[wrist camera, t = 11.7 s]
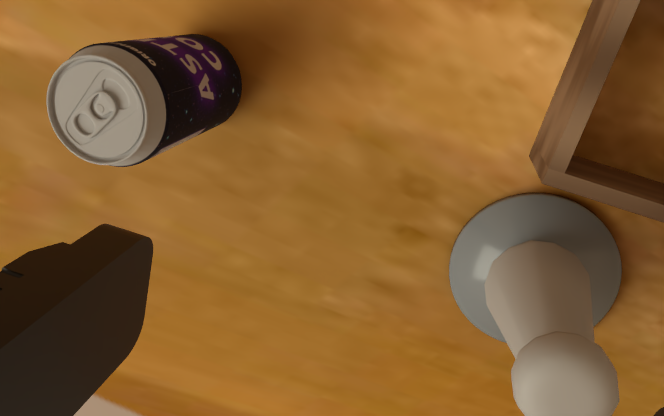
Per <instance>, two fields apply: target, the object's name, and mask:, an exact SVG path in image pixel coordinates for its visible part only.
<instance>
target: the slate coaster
mask: <svg viewBox="0 0 664 416" xmlns="http://www.w3.org/2000/svg"><path fill="white" fill-rule="evenodd" d="M530 240H532V241H542V242H552V243H556V244H557V245H559V246H561V247H563V248H565V249H567V250H568V251H570V252H572V253H574V254H575V255H576V256H577V257H578V259H579V260H580V262H581V263H582V265H583V266H584V268H585V269H586V271H587V272H588V274H589V278H590V289H591V301H592V315H593V327H594V326H595V325H596V324H597V323H598V322H599V321H600V320H601V319H602V318H603V317H604V316H605V315H606V313H607V312H608V311H609V309H610V308H611V306H612V304H613V303H614V301H615V298H616V296H617V294H618V291H619V287H620V283H621V274H622V268H621V259H620V254H619V250H618V248H617V245H616V242H615V240H614V239H613V237H612V235H611V233H610V232H609V230H608V229H607V228H606V226H605V225H604V224H603V222H602V221H601V220H600V219H599V218H598V217H597V216H596V215H595V214H594V213H592V212H591V211H590V210H588V209H587V208H586V207H584V206H582V205H581V204H579V203H577V202H575V201H573V200H570V199H568V198H565V197H561V196H558V195H554V194H546V193H525V194H517V195H513V196H509V197H506V198H503V199H500V200H498V201H496V202H494V203H492V204H490V205H488V206H486V207H485V208H483V209H482V210H480V211H479V212H478V213H476V214H475V215H474V216H473V217H472V218H471V219H470V220H469V221H468V222H467V223H466V225H465V226H464V227H463V229H462V230H461V232H460V233H459V235H458V237H457V239H456V241H455V243H454V246H453V249H452V252H451V257H450V265H449V278H450V285H451V289H452V292H453V296H454V298H455V300H456V302H457V304H458V306H459V308H460V309H461V311H462V312H463V314H464V315H465V316H466V317H467V319H468V320H469V321H470V322H471V323H472V324H474V325H475V326H476V327H477V328H478V329H480V330H481V331H482V332H484V333H486V334H487V335H489V336H491V337H493V338H495V339H497V340H500V341H502V342H505V343H507V342H506V340H505V338H504V336H503V334H502V333H501V331H500V329H499V327H498V325H497V323H496V321H495V320H494V318H493V316H492V314H491V312H490V310H489V309H488V307H487V304H486V295H485V286H484V284H485V281H486V279H487V276H488V273H489V270H490V267H491V264H492V262H493V261H494V260H495V259H496V258H498V257H499V256H500V255H501V254H502V253H503V252H504V251H506V250H507V249H508V248H509V247H512V246H515V245H518V244H521V243H524V242H527V241H530Z"/></svg>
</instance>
